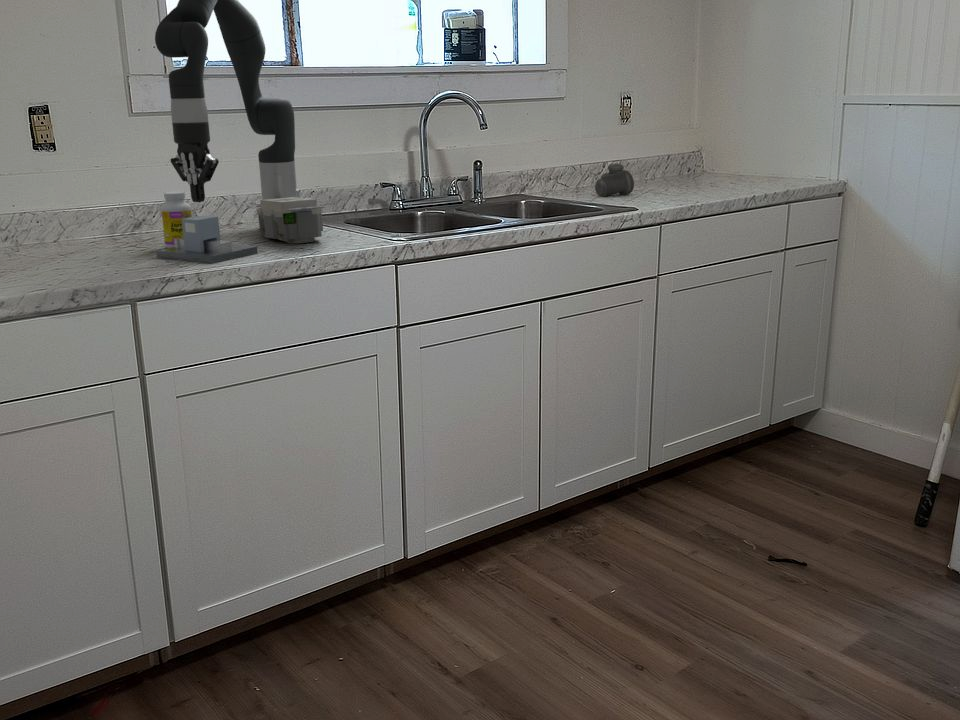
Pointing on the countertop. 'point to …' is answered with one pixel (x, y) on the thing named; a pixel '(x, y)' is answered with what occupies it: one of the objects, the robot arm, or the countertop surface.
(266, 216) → the electrical outlet
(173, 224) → the supplement bottle
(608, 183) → the pipe fitting
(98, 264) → the countertop surface
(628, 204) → the countertop surface
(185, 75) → the robot arm
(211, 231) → the block
